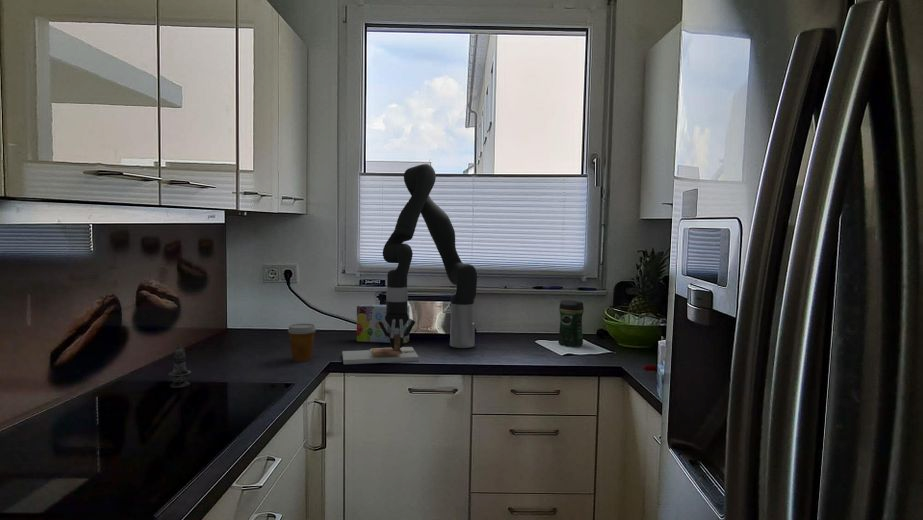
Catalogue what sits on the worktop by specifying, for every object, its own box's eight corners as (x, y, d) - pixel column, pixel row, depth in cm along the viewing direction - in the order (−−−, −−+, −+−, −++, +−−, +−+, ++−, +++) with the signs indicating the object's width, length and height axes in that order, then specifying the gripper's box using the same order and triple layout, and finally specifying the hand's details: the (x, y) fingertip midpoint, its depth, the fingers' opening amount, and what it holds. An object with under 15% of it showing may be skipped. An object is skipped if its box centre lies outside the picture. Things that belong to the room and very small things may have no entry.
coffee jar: (585, 345, 214) (587, 300, 213) (575, 348, 208) (577, 302, 207) (565, 341, 221) (566, 298, 219) (555, 344, 215) (556, 299, 214)
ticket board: (412, 352, 196) (412, 346, 196) (418, 360, 184) (418, 354, 183) (342, 355, 190) (342, 349, 189) (343, 364, 177) (343, 357, 177)
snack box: (409, 341, 216) (409, 305, 216) (406, 343, 211) (407, 307, 210) (359, 338, 218) (360, 303, 218) (355, 341, 213) (356, 305, 212)
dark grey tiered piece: (174, 381, 154) (173, 341, 153) (194, 381, 154) (194, 341, 154) (164, 388, 148) (163, 346, 147) (185, 387, 148) (185, 346, 148)
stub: (399, 350, 188) (399, 332, 188) (401, 354, 183) (401, 335, 182) (371, 351, 185) (371, 333, 185) (373, 355, 180) (373, 336, 180)
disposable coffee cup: (321, 357, 186) (321, 324, 185) (305, 364, 177) (305, 329, 176) (298, 355, 189) (299, 322, 188) (281, 361, 180) (281, 326, 179)
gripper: (414, 297, 189) (413, 344, 190) (376, 298, 186) (375, 346, 187) (418, 300, 182) (417, 349, 183) (378, 301, 178) (377, 351, 179)
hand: (396, 347), depth 185 cm, fingers closed on stub, 2 cm apart
